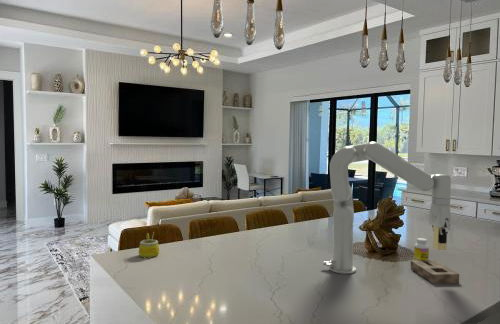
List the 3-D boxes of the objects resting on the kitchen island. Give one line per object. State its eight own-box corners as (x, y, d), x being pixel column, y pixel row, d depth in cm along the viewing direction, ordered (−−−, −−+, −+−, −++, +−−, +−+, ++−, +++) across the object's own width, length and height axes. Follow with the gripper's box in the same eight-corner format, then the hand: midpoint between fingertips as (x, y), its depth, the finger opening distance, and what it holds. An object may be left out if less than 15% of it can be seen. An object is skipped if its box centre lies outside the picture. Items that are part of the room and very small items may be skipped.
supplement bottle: (420, 266, 190) (420, 241, 189) (411, 262, 196) (411, 237, 196) (431, 265, 192) (432, 240, 191) (422, 261, 198) (422, 237, 198)
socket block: (432, 283, 167) (432, 274, 166) (410, 268, 187) (410, 260, 186) (458, 283, 167) (459, 274, 167) (434, 268, 187) (434, 260, 187)
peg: (437, 249, 170) (438, 227, 169) (432, 247, 174) (433, 225, 173) (446, 249, 170) (447, 227, 169) (441, 247, 174) (441, 225, 173)
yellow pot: (154, 259, 200) (154, 236, 200) (135, 258, 202) (134, 235, 202) (164, 252, 213) (164, 231, 212) (146, 251, 215) (146, 230, 214)
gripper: (423, 199, 179) (422, 237, 180) (443, 204, 162) (442, 247, 163) (438, 198, 179) (437, 237, 180) (460, 204, 163) (459, 246, 164)
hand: (439, 241), depth 172 cm, fingers closed on peg, 4 cm apart
